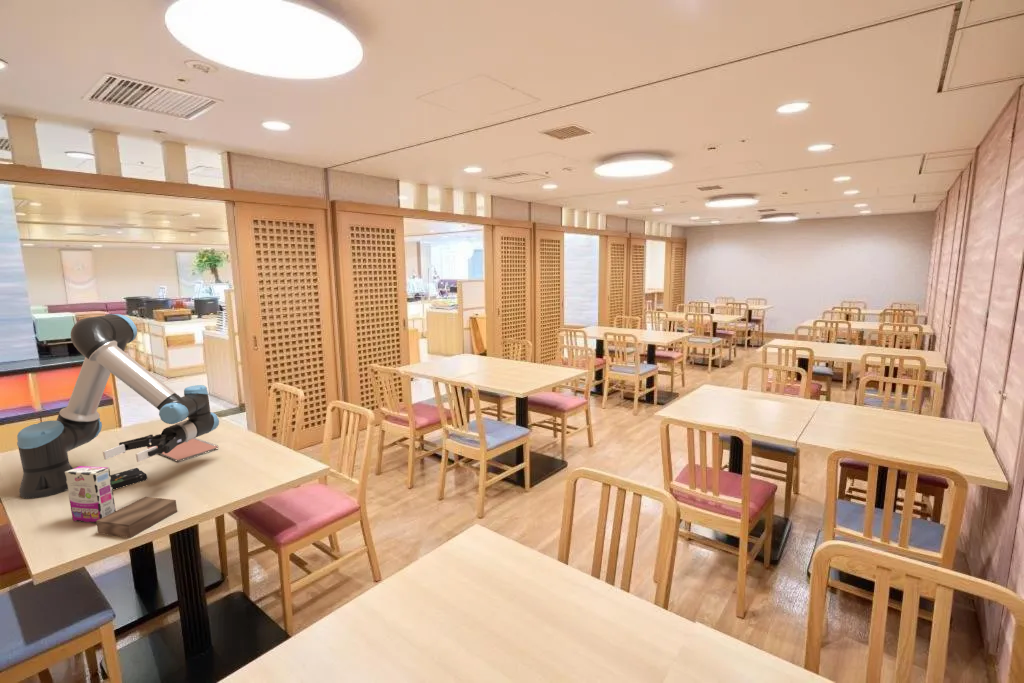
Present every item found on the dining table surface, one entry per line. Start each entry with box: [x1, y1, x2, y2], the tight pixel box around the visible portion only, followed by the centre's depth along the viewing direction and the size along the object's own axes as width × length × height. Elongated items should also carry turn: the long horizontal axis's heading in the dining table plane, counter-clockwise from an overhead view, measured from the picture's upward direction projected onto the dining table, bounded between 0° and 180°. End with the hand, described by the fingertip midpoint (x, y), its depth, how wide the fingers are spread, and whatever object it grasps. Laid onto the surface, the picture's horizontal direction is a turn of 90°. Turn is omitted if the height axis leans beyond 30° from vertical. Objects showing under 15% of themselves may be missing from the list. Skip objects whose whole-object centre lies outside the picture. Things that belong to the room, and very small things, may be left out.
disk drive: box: [110, 467, 148, 491], centre depth 171 cm, size 10×3×15 cm
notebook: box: [146, 437, 219, 462], centre depth 203 cm, size 27×17×2 cm, turn 59°
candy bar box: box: [65, 465, 117, 524], centre depth 146 cm, size 11×5×16 cm, turn 81°
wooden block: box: [96, 496, 178, 538], centre depth 144 cm, size 12×15×4 cm
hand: (120, 456), depth 154 cm, fingers open, 13 cm apart
